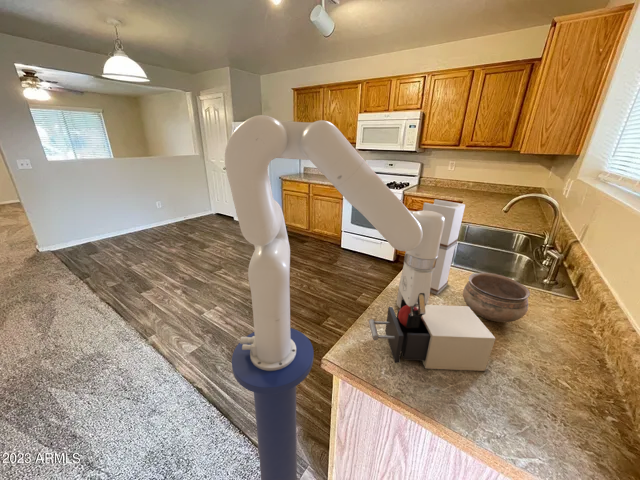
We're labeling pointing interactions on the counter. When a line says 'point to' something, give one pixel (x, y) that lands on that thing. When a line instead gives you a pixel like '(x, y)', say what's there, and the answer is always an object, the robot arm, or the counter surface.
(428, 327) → the cream rectangular box
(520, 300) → the cooking pot
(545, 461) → the counter surface
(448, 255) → the tall white column
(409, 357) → the dark pull-out drawer
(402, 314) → the onion
